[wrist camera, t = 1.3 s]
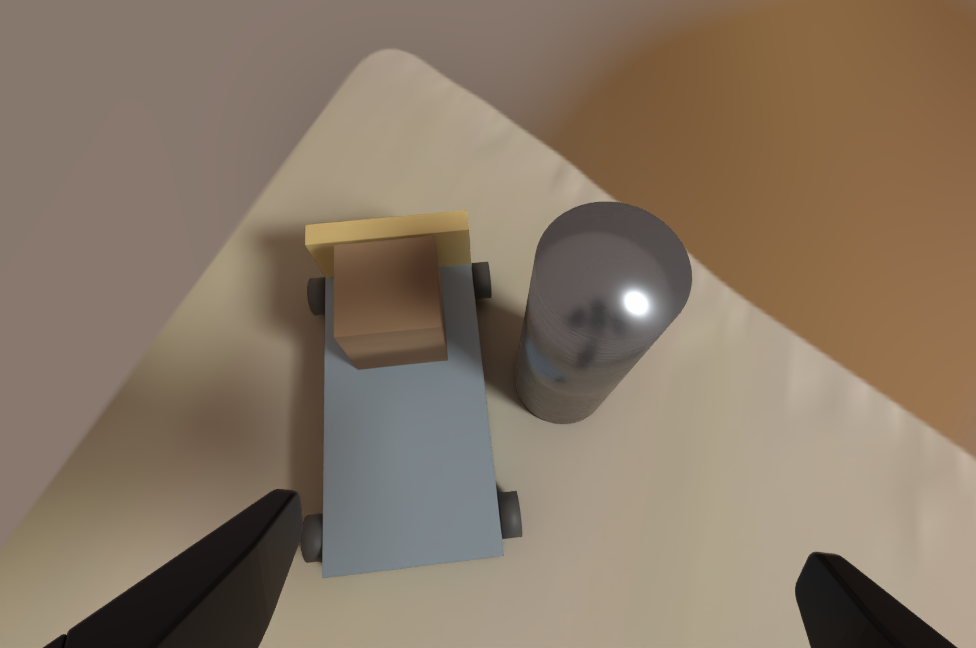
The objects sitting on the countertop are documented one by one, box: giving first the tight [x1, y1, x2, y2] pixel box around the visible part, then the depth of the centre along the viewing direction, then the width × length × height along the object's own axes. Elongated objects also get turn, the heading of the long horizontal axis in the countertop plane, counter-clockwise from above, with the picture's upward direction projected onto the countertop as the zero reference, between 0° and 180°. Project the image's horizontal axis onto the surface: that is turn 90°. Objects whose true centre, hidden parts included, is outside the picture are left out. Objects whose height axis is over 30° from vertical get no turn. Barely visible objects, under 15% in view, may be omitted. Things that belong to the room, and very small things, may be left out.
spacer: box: [515, 202, 692, 424], centre depth 19 cm, size 4×4×11 cm
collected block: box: [334, 236, 448, 370], centre depth 22 cm, size 4×4×4 cm
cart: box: [301, 210, 522, 578], centre depth 22 cm, size 14×9×5 cm, turn 6°
